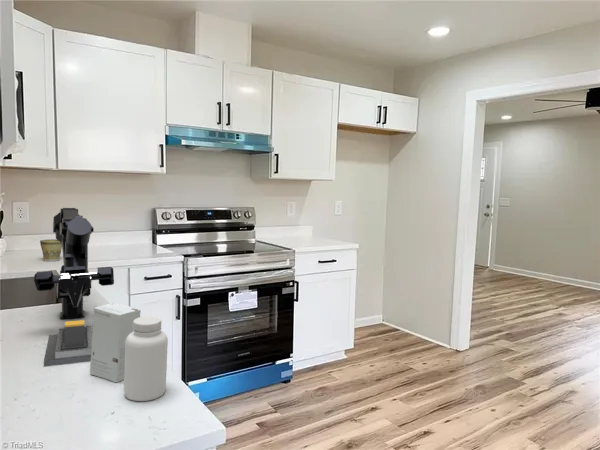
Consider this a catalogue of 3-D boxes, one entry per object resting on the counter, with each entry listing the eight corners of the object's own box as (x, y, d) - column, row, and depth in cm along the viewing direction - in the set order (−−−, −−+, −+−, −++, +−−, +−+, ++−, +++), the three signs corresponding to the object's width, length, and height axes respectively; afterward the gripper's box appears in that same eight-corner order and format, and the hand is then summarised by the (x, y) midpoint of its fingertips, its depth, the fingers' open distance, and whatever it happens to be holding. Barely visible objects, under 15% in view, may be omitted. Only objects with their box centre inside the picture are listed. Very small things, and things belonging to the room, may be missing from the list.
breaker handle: (62, 349, 104) (62, 321, 103) (86, 346, 106) (86, 319, 106) (62, 355, 100) (62, 326, 100) (86, 352, 103) (86, 324, 102)
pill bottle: (149, 406, 83) (151, 328, 81) (114, 397, 85) (116, 322, 84) (174, 388, 90) (176, 317, 89) (141, 381, 93) (143, 311, 92)
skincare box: (89, 374, 94) (90, 307, 93) (111, 365, 100) (112, 301, 99) (118, 384, 91) (119, 314, 90) (139, 373, 96) (141, 307, 95)
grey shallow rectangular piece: (49, 339, 113) (49, 328, 113) (100, 334, 118) (100, 324, 118) (43, 366, 97) (43, 354, 97) (102, 359, 102) (103, 348, 102)
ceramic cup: (53, 263, 211) (53, 242, 210) (35, 261, 212) (35, 240, 211) (71, 258, 223) (72, 239, 222) (54, 257, 225) (54, 238, 224)
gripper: (113, 269, 131) (115, 316, 123) (42, 274, 124) (38, 324, 116) (112, 248, 123) (114, 297, 114) (35, 252, 116) (31, 305, 107)
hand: (75, 306), depth 113 cm, fingers closed
